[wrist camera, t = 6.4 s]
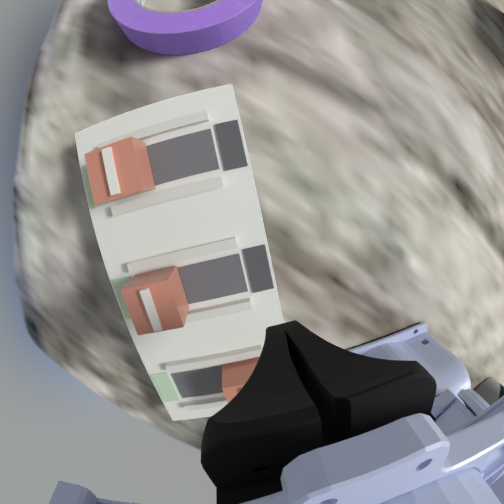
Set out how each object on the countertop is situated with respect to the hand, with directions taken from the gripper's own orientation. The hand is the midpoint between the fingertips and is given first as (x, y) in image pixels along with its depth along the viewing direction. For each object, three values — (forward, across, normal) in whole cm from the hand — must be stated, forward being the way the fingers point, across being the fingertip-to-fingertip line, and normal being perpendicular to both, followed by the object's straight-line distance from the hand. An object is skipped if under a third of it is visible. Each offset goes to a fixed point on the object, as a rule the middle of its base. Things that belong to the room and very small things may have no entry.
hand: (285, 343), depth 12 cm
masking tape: (+10, +1, -23) cm, 25 cm away
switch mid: (+7, +7, -1) cm, 10 cm away
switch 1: (+7, +7, -9) cm, 13 cm away
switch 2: (+7, +3, +7) cm, 10 cm away
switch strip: (+10, +5, -1) cm, 11 cm away
